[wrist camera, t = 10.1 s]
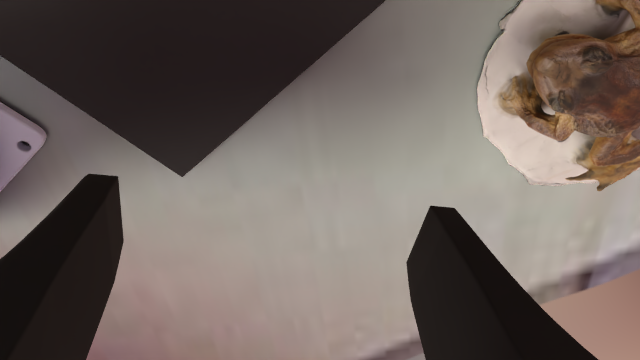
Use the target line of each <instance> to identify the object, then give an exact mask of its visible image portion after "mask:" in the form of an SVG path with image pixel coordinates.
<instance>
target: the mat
mask: <svg viewBox="0 0 640 360" xmlns="http://www.w3.org/2000/svg"><path fill="white" fill-rule="evenodd" d="M384 1H385V0H0V55H1V56H2V57H4V58H5V59H7V60H8V61H10V62H11V63H13V64H14V65H16V66H17V67H18V68H20V69H21V70H23V71H24V72H26V73H27V74H29V75H30V76H32V77H33V78H35V79H36V80H38V81H39V82H41V83H42V84H44V85H45V86H47V87H48V88H50V89H51V90H53V91H54V92H56V93H57V94H59V95H60V96H62V97H63V98H65V99H66V100H68V101H69V102H71V103H72V104H74V105H75V106H77V107H78V108H80V109H81V110H83V111H84V112H86V113H87V114H89V115H90V116H92V117H93V118H95V119H96V120H98V121H99V122H101V123H102V124H104V125H105V126H107V127H108V128H110V129H111V130H113V131H114V132H116V133H117V134H119V135H120V136H122V137H123V138H125V139H126V140H128V141H129V142H130V143H132V144H133V145H135V146H136V147H138V148H139V149H141V150H142V151H144V152H145V153H147V154H148V155H150V156H151V157H153V158H154V159H156V160H157V161H159V162H160V163H162V164H163V165H165V166H166V167H168V168H169V169H171V170H172V171H174V172H175V173H177V174H178V175H180V176H181V177H183V176H184V175H185V174H186V173H188V172H189V171H190V170H191V169H192V168H193V167H194V166H196V165H197V164H198V163H199V162H200V161H201V160H203V159H204V158H205V157H206V156H207V155H208V154H209V153H211V152H212V151H213V150H214V149H215V148H216V147H217V146H219V145H220V144H221V143H222V142H223V141H224V140H226V139H227V138H228V137H229V136H230V135H231V134H232V133H234V132H235V131H236V130H237V129H238V128H239V127H240V126H242V125H243V124H244V123H245V122H246V121H247V120H249V119H250V118H251V117H252V116H253V115H254V114H255V113H257V112H258V111H259V110H260V109H261V108H262V107H263V106H265V105H266V104H267V103H268V102H269V101H270V100H272V99H273V98H274V97H275V96H276V95H277V94H278V93H280V92H281V91H282V90H283V89H284V88H285V87H286V86H288V85H289V84H290V83H291V82H292V81H293V80H294V79H296V78H297V77H298V76H299V75H300V74H301V73H303V72H304V71H305V70H306V69H307V68H308V67H309V66H311V65H312V64H313V63H314V62H315V61H316V60H317V59H319V58H320V57H321V56H322V55H323V54H324V53H326V52H327V51H328V50H329V49H330V48H331V47H332V46H334V45H335V44H336V43H337V42H338V41H339V40H340V39H342V38H343V37H344V36H345V35H346V34H347V33H349V32H350V31H351V30H352V29H353V28H354V27H355V26H357V25H358V24H359V23H360V22H361V21H362V20H363V19H365V18H366V17H367V16H368V15H369V14H370V13H372V12H373V11H374V10H375V9H376V8H377V7H378V6H380V5H381V4H382V3H383V2H384Z"/></svg>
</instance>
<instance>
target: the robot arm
mask: <svg viewBox="0 0 640 360" xmlns="http://www.w3.org/2000/svg"><path fill="white" fill-rule="evenodd" d="M46 138H47V136H46V133H45V131H44V130H43V129H42V128H41V127H40V126H38V125H36V124H35V123H33V122H31V121H30V120H28V119H27V118H25V117H23V116H22V115H20V114H19V113H17V112H15V111H14V110H12V109H11V108H9V107H7V106H6V105H4V104H3V103H1V102H0V192H1V190H2V189H3V188H4V187H5V186H6V185H7V184H8V183H9V182H10V181H11V180H12V178H13V177H14V176H15V175H16V174H17V173H18V172H19V171H20V170H21V169H22V168H23V166H24V165H25V164H26V163H27V162H28V161H29V160H30V159H31V158H32V157H33V156H34V154H35V153H36V152H37V151H38V150H39V149H40V148H41V147H42V146H43V144H44V142H45V140H46ZM21 141H25V142H27V143H28V144H30V146H27V145H25V144H23V143H22V142H21ZM122 246H123V229H122V217H121V205H120V194H119V182H118V176H107V175H97V174H88V175H87V176H85V177H84V178H83V179H82V180H81V181H80V182H79V183H78V184H77V185H76V187H75V188H74V189H73V190H72V191H71V192H70V193H69V194H68V195H67V196H66V197H65V198H64V199H63V200H62V201H61V202H60V203H59V204H58V206H57V207H56V208H55V209H54V210H53V211H52V212H51V213H50V214H49V215H48V216H47V217H46V218H45V219H44V220H43V221H42V222H40V223H39V224H38V225H37V226H36V227H35V228H34V229H33V230H32V231H31V232H30V233H29V234H28V235H27V236H26V237H25V238H24V239H23V240H22V241H21V242H20V243H18V244H17V245H16V246H15V247H14V248H13V249H12V250H11V251H9V252H8V253H7V254H6V255H5V256H4V257H2V258H1V259H0V360H86V358H87V355H88V353H89V350H90V347H91V344H92V342H93V339H94V336H95V334H96V331H97V328H98V325H99V323H100V320H101V317H102V314H103V312H104V309H105V306H106V303H107V301H108V298H109V295H110V292H111V290H112V287H113V284H114V281H115V276H116V272H117V268H118V264H119V259H120V255H121V250H122ZM407 272H408V281H409V289H410V297H411V303H412V307H413V311H414V315H415V319H416V323H417V327H418V331H419V335H420V339H421V343H422V347H423V350H424V354H425V358H426V360H598V359H597V358H596V357H594V356H593V355H592V354H591V353H590V352H589V351H587V350H586V349H585V348H584V347H583V346H581V345H580V344H579V343H578V342H577V341H576V340H575V339H574V338H573V337H571V335H569V334H568V333H567V332H566V331H565V330H564V329H563V328H562V327H561V326H560V325H558V324H557V323H556V322H555V321H554V320H553V319H552V318H551V317H550V316H549V315H548V314H547V313H546V312H545V311H544V310H543V309H542V308H541V307H540V306H539V305H538V304H537V303H536V302H535V301H534V300H533V298H532V297H531V296H530V295H529V294H528V293H527V292H526V291H525V290H524V289H523V288H522V287H521V286H520V285H519V284H518V282H517V281H516V280H515V279H514V278H513V277H512V276H511V275H510V273H509V272H508V271H507V270H506V269H505V268H504V267H503V265H502V264H501V263H500V262H499V261H498V260H497V258H496V257H495V256H494V255H493V254H492V253H491V251H490V250H489V249H488V248H487V247H486V245H485V244H484V243H483V242H482V240H481V239H480V238H479V237H478V236H477V234H476V233H475V232H474V231H473V230H472V228H471V227H470V226H469V225H468V223H467V222H466V221H465V220H464V219H463V217H462V216H461V215H460V214H459V213H458V212H457V211H456V209H455V208H449V207H438V206H430V208H429V210H428V213H427V215H426V217H425V220H424V222H423V224H422V227H421V229H420V232H419V234H418V236H417V239H416V241H415V243H414V246H413V248H412V251H411V253H410V255H409V258H408V260H407Z"/></svg>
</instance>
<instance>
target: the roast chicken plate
mask: <svg viewBox="0 0 640 360" xmlns="http://www.w3.org/2000/svg"><path fill="white" fill-rule="evenodd" d="M499 27H500V28H501V29H504V32H503V34H502V35H501V36H499V37H498V38H497V40H496V41H495V43H494V44H493V46H492V48H491V49H490V50H489V52H488V55H487V57H486V59H485V61H484V63H485V64H484V66H483V71H482V74H481V77H480V79H479V82H478V86H477V95H478V103H477V105H478V111H479V113H480V117H481V123H482V127H483V129H482V130H483V136H484V137H486V138H487V139H488V140H489V141H490V142H491V143H492V144H493V145H495V146H496V147H497V148H498V149H499V150H500V151H501V152H502V153H503V155H504V157H505V158H506V160H507V163H508V164H509V165H511V166H514V167H515V168H516V169H517V170H518V171H519V172H521V173H522V174H523V176H524V177H525V178H526V179H527V180H528V183H529V184H531V185H535V184H540V185H552V186H560V185H566V184H572V183H596V182H600V185H599V186H598V187H597V191H601V190H603V189H604V188H605V187H607V186H609V185H611V184H613V183H614V182H616V181H617V180H620V179H622V178H625V177H626V176H627V175H629V174H630V173H632V172H633V171H636V170H638V169H640V0H522V1H521V2H520V4H519V5H518V6H517V8H516V9H515V10H514V11H513V12H511V13H510V14H508V15H507V16H506V17H505V18H504V19H502V20H501V21H500V22H499Z"/></svg>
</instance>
